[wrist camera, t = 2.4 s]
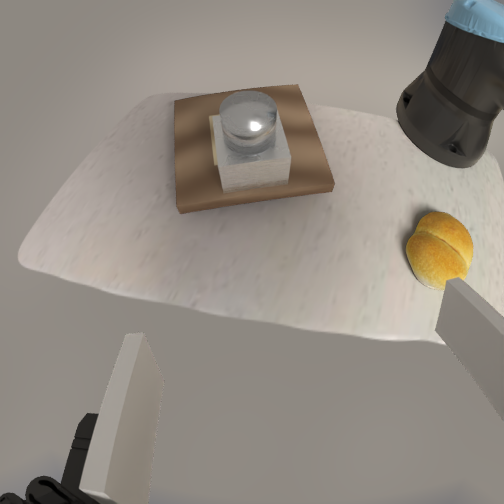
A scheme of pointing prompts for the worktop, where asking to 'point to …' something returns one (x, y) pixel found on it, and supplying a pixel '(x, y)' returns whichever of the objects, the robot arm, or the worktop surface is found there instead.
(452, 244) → the bread roll
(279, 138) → the metal block with knob
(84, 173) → the worktop surface
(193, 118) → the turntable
